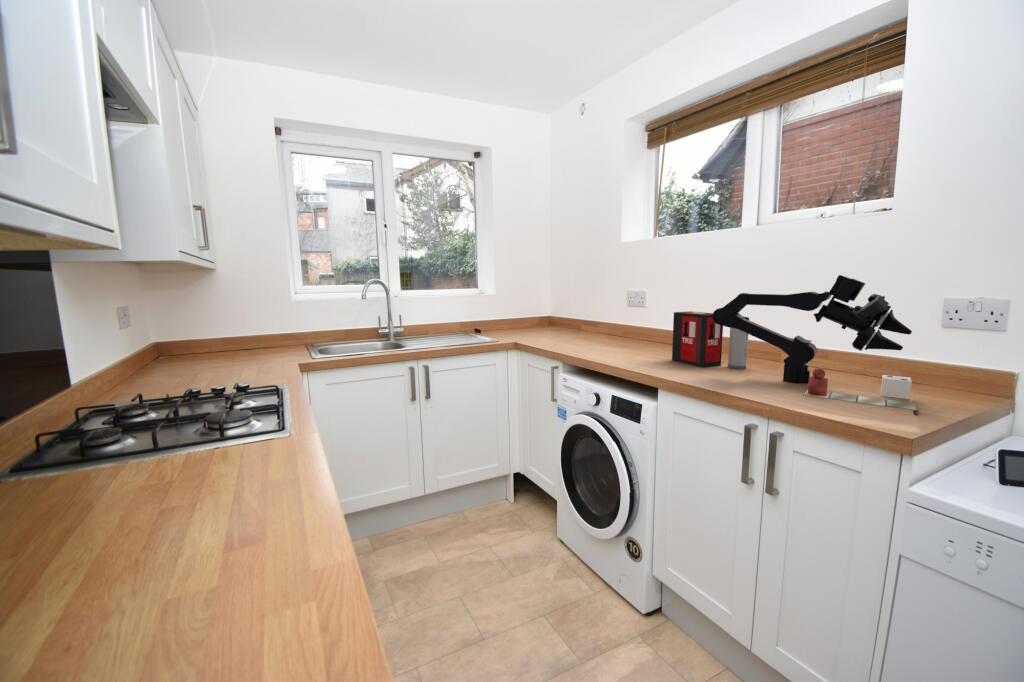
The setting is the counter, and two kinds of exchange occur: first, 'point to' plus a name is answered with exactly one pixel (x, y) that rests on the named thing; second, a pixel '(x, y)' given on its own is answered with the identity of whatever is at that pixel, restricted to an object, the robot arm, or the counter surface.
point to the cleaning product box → (696, 339)
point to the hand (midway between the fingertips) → (906, 340)
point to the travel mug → (738, 348)
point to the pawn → (818, 383)
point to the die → (896, 386)
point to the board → (868, 400)
